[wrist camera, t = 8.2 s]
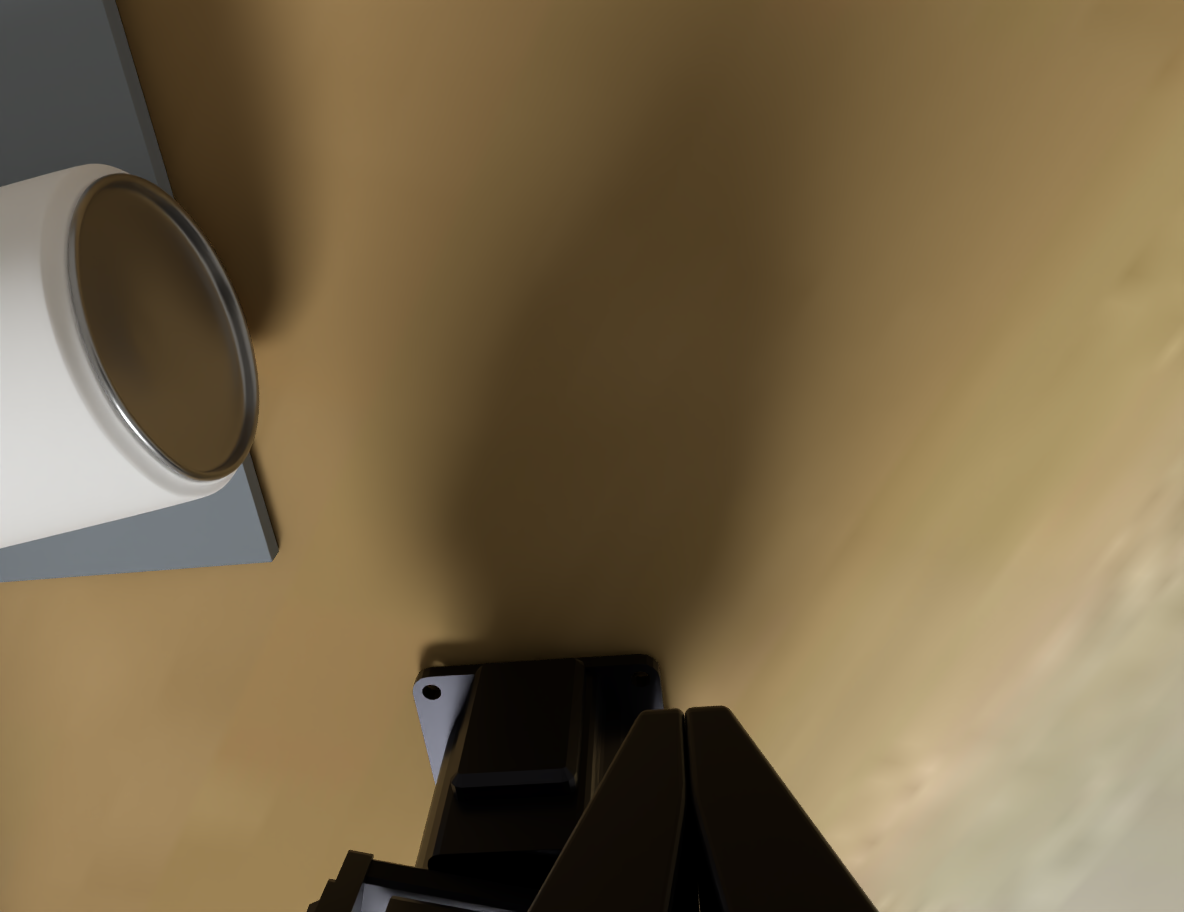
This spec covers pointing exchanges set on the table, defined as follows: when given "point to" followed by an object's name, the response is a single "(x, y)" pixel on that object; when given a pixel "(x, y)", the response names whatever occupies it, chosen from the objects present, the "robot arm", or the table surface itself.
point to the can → (114, 355)
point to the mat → (127, 141)
